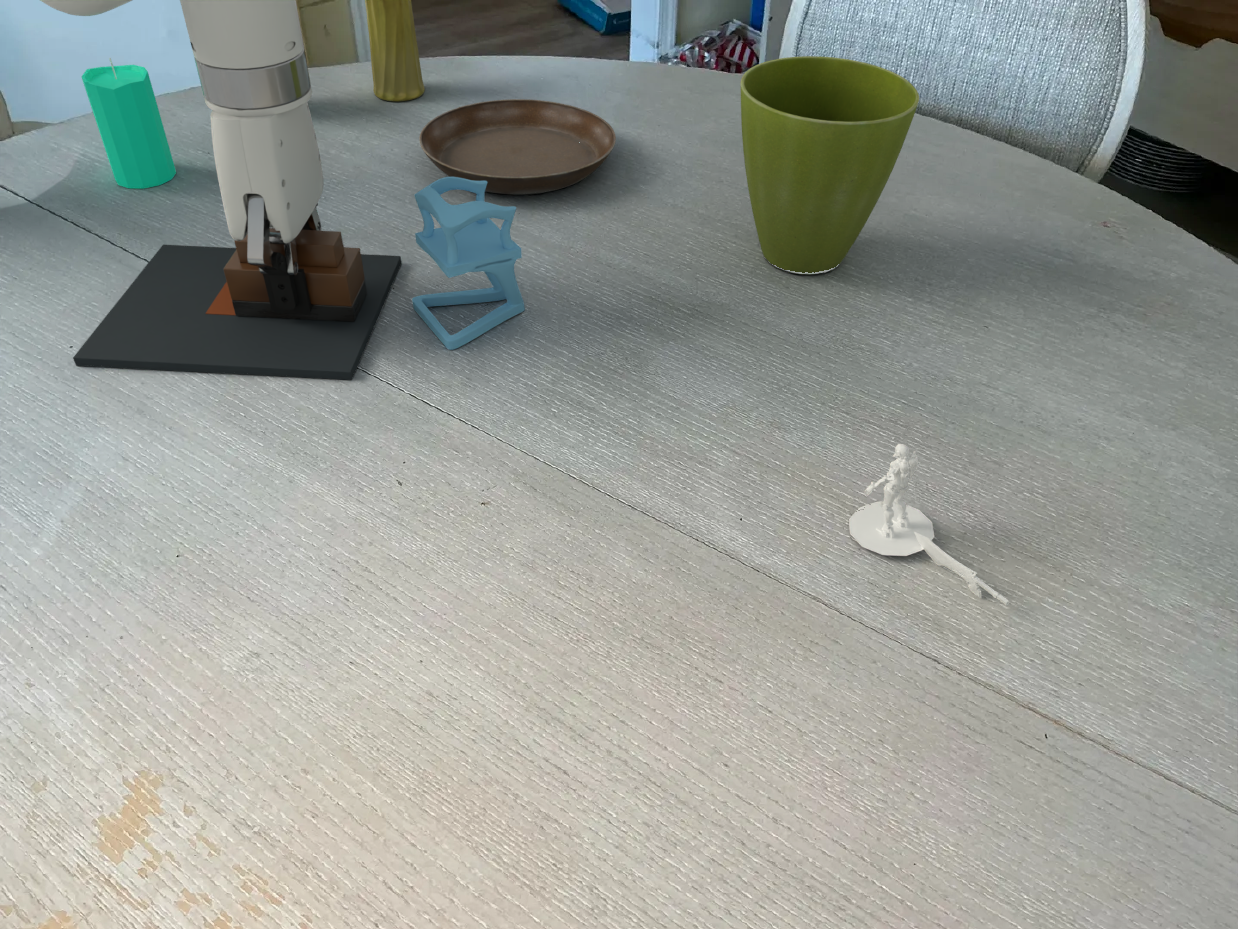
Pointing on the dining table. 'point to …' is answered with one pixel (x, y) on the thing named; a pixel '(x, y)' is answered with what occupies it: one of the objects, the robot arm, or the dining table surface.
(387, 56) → the vase
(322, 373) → the mat
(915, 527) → the figurine
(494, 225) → the chair
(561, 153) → the plant saucer
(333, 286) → the brush
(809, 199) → the flower pot
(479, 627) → the dining table surface
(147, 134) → the candle
